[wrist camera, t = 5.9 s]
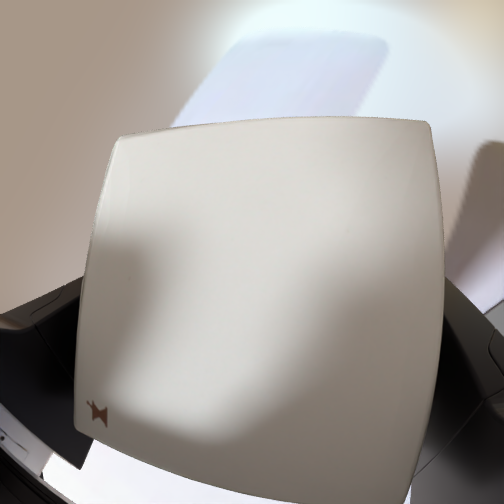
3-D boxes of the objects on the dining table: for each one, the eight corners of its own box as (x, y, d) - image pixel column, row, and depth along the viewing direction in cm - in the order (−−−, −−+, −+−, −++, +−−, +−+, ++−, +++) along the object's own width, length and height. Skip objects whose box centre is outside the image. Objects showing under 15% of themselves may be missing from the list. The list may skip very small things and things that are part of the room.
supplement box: (365, 388, 15) (404, 524, 3) (235, 372, 17) (61, 431, 5) (379, 254, 17) (439, 113, 5) (250, 246, 19) (107, 131, 7)
